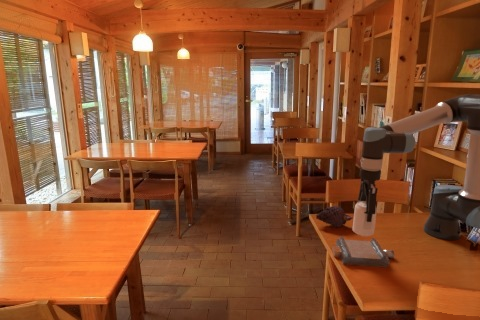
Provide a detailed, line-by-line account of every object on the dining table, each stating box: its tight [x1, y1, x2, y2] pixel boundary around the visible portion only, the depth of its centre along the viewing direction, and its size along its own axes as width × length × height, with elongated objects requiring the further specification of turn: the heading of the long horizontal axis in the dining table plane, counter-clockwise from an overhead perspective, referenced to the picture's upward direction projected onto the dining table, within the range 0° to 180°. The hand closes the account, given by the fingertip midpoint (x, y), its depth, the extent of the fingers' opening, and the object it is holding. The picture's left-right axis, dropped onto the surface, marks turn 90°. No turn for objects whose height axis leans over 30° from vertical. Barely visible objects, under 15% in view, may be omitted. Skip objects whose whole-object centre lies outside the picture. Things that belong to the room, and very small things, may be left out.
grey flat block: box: [331, 235, 395, 268], centre depth 136 cm, size 23×15×4 cm, turn 85°
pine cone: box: [315, 205, 354, 228], centre depth 163 cm, size 18×10×10 cm, turn 88°
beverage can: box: [351, 200, 378, 237], centre depth 132 cm, size 8×8×12 cm
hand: (364, 223), depth 133 cm, fingers closed on beverage can, 8 cm apart
